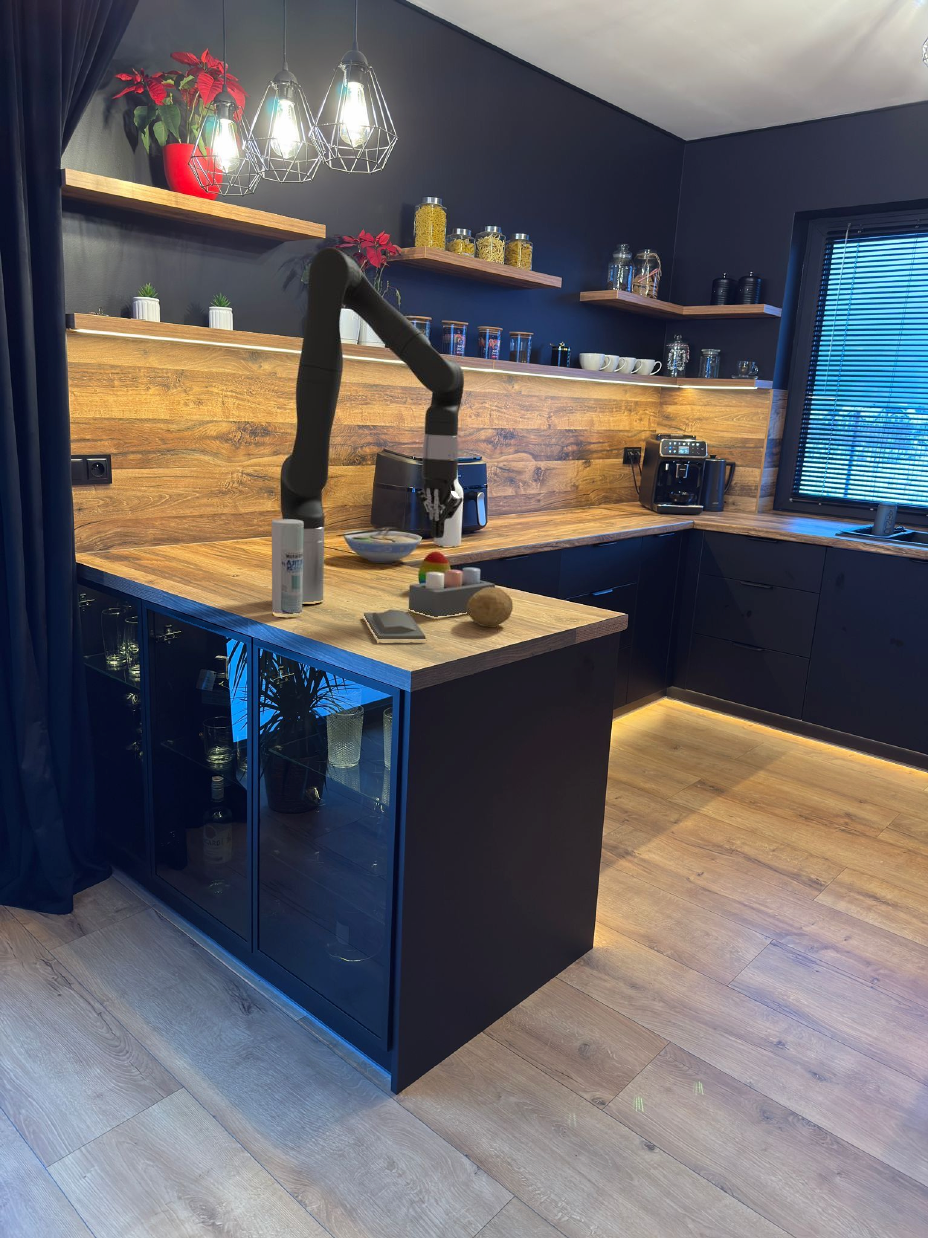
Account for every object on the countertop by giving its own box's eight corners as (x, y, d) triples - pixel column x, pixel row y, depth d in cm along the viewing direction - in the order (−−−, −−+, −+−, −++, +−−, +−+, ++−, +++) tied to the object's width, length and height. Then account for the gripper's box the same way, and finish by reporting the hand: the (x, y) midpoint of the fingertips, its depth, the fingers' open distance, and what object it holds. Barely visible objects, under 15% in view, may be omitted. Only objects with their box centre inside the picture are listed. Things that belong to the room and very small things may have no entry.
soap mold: (409, 621, 190) (410, 605, 189) (427, 646, 171) (428, 628, 170) (362, 621, 187) (362, 605, 187) (374, 646, 169) (375, 628, 168)
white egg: (433, 603, 192) (434, 576, 190) (421, 599, 194) (422, 572, 193) (446, 601, 194) (448, 574, 193) (434, 597, 197) (435, 571, 196)
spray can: (289, 610, 191) (289, 518, 186) (309, 615, 187) (310, 521, 182) (265, 614, 186) (265, 520, 181) (284, 620, 182) (285, 524, 178)
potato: (513, 619, 194) (515, 583, 192) (509, 635, 180) (512, 597, 178) (469, 616, 195) (471, 580, 193) (462, 631, 181) (464, 593, 179)
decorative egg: (421, 595, 213) (423, 554, 211) (414, 588, 221) (416, 548, 219) (454, 595, 215) (456, 554, 213) (446, 588, 223) (447, 549, 221)
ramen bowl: (382, 572, 239) (382, 542, 237) (323, 559, 253) (323, 531, 251) (439, 562, 259) (440, 534, 257) (381, 551, 272) (382, 525, 270)
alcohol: (430, 546, 287) (434, 452, 280) (438, 542, 296) (443, 451, 289) (456, 548, 285) (460, 454, 278) (463, 545, 293) (468, 453, 286)
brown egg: (452, 600, 195) (453, 573, 194) (439, 596, 198) (441, 570, 197) (464, 598, 198) (466, 572, 197) (452, 594, 201) (454, 569, 200)
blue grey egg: (469, 597, 199) (471, 571, 198) (457, 594, 202) (459, 568, 201) (482, 595, 202) (483, 569, 201) (470, 592, 205) (471, 566, 203)
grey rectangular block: (435, 619, 190) (437, 592, 188) (408, 611, 196) (409, 584, 194) (493, 609, 202) (495, 584, 201) (466, 602, 208) (467, 577, 207)
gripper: (406, 454, 189) (404, 534, 193) (448, 459, 180) (445, 543, 184) (432, 454, 194) (429, 532, 198) (474, 458, 185) (470, 540, 189)
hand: (437, 537), depth 191 cm, fingers closed
